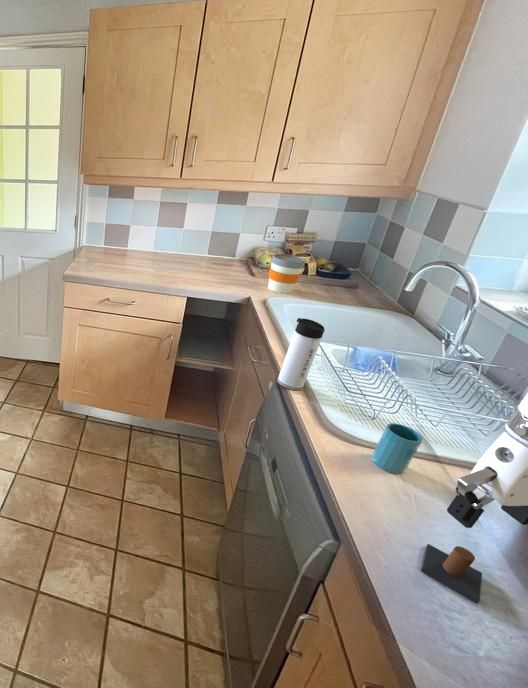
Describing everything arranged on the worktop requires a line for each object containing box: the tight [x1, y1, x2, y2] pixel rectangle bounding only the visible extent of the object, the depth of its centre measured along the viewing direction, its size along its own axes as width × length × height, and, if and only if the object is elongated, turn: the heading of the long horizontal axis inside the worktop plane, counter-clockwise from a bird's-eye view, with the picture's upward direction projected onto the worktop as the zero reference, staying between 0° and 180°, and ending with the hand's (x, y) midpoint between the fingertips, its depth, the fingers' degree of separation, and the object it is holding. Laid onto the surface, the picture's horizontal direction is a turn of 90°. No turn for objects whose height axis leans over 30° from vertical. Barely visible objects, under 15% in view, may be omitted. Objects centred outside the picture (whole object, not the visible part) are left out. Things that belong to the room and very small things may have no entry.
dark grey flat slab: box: [420, 543, 483, 604], centre depth 68 cm, size 7×7×5 cm
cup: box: [370, 422, 423, 475], centre depth 90 cm, size 6×6×9 cm
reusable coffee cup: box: [267, 253, 306, 294], centre depth 183 cm, size 13×13×15 cm
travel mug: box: [277, 317, 326, 391], centre depth 115 cm, size 6×7×20 cm
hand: (485, 518), depth 64 cm, fingers open, 9 cm apart
